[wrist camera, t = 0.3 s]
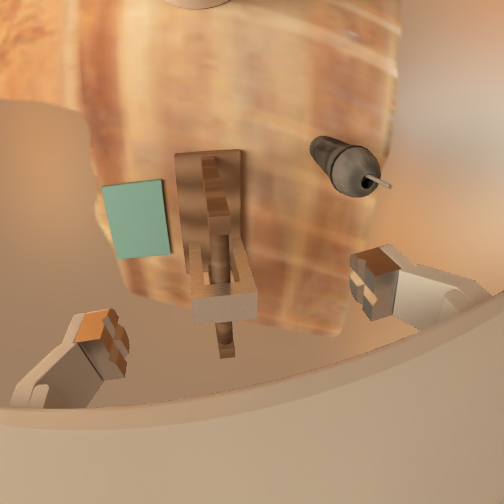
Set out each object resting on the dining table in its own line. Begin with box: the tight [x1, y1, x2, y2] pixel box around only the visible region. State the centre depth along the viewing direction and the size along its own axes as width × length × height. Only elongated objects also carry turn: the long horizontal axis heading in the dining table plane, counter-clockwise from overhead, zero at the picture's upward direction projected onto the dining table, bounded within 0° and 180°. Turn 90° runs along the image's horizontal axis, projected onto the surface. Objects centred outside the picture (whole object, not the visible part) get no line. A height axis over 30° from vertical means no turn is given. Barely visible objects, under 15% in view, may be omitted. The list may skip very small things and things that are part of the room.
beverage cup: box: [310, 136, 392, 197], centre depth 41 cm, size 7×7×20 cm
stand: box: [174, 149, 240, 359], centre depth 43 cm, size 22×10×22 cm, turn 179°
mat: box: [102, 179, 171, 259], centre depth 49 cm, size 14×10×1 cm
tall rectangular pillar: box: [189, 238, 258, 325], centre depth 37 cm, size 4×7×11 cm, turn 89°
